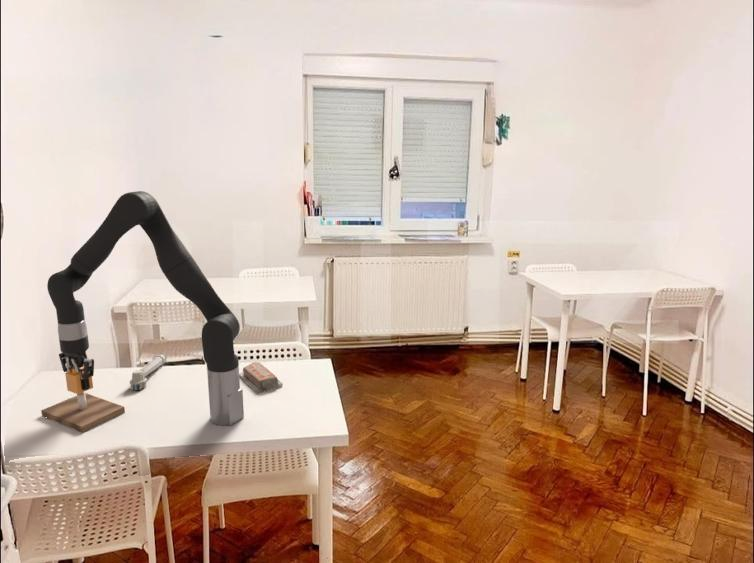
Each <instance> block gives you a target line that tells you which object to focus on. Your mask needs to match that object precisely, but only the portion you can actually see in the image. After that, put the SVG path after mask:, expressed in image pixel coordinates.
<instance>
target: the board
mask: <svg viewBox="0 0 754 563" xmlns="http://www.w3.org/2000/svg"><path fill="white" fill-rule="evenodd" d="M85 396H86V403H87V409H85V410H79V405H78V398H77V395H75V396H72V397H70V398H67V399H65V400H63V401H60V402H58V403H55V404H53V405H51V406H49V407H46V408H44V409H41V417H43V416H44V417H43V418H45V417H47V418H46V419H48V420H50V421H53V422H55V423H57V422H58V424H60V425H63V426H65V427H67V428H70V429H72V430H75V431H77V432H79V433H85V432H89V430H92V429H94V428H95V427H98V426H100V425H102V424H104V423H106V422H108V421H110V420H112V419H115V418H118V417H119V416H121V415H123V414H125V413H126V412H125V411H126V410H125V406H123V405H121V404H118V403H114V402H112V401H109V400H106V399H103V398H101V397H98V396H95V395H92V394H89V393H86V392H85Z"/></svg>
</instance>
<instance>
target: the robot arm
mask: <svg viewBox="0 0 754 563" xmlns="http://www.w3.org/2000/svg"><path fill="white" fill-rule="evenodd" d="M136 226H140V227H141V229H142V230H143V231H144V233H145V234H146V235H147V236H148V238H149V239H150V241H151V243H152V246H153V248H154V249H153V250H154V252H155V256H156V259H157V262H158V266H159V268H160V269H161V272H162V274H164V276H165V277H166V279H167V281H168V282H169V283H170V284H171V286H172V287H173V288H174V289H175V291H176V292H178V293H179V294H180V295H182V296H183V297H185V298H186V299H188V300H189V301H190V302H192V303H193V305H195V306H196V308H198V309H199V311H200V312H201V313H202V315H203V317H204V318H205V320H206V321H207V322H205V323H204V325H203V327H202V328H201V344H202V345H201V346H202V354H203V359H204V362H205V363H206V373H207V387H208V402H209V412H210V413H209V414H210V415H209V416H210V422H211V423H212V424H214V425H218V426H232V425H233V424H235V423H237V422H239V421H241V420H242V419H243V418H244V417H245V413H244V394H243V393H244V392H243V389H242V388H240V386H241V385H240V384H241V383H240V376H239V374H240V368H239V367H240V366H239V365H240V363H239V357H238V355H237V354H236V353H235V349H234V348H235V347H234V340H235V339H236V338H237V337H238V335H239V333H240V328H241V326H240V323H239V320H238V318H237V317H236V315H235V314H234V313H233V311H231V310H230V308H229V307H228V305H226V303H225V302H224V301H223V300H222V299H221V298H220V296H219V295H218V293H217V292H216V291H215V289H214V288H213V286H212V285H211V283H210V282H209V280H208V279H207V277H206V276H205V274H204V273H203V271H202V270H201V268H200V266H199V265H198V263H197V262H196V261H195V259H194V257H193V256H192V255H191V253H190V252H189V251H188V249H187V247H186V246H185V245H184V243H183V241H181V239H180V238H179V236H178V234H177V233H176V232H175V230H174V229H173V227H172V226H171V224H170V222H169V220H168V218H167V217H166V215H165V214H164V212H163V209H162V208H161V205H160V204H159V202H158V201H157V199H156V198H155V196H153V195H152V194H151V193H149V192H146V191H142V190H140V191H129V192H126V193H124V194H122V195H121V196H120V197H118V199H117V200H116V201H115V203H114V205H113V206H112V208H111V209H110V211H109V212H108V214H107V216H106V217H105V219H104V220H103V222H102V223H101V224H100V225H99V227H98V228H97V229H96V230H95V232H94V233H93V234H92V235H91V237H89V239H87V241H86V242H85V243H84V244H82V246H81V247H80V248H79V249H78V250H77V251H76V252H75V253H74V254H73V255H72V257H71V258H70V264H69V265H68V266H67V267H66V268H65V269H62V270H60V271H58V272H55V273H53V274H51V275H50V276H49V277H48V280H47V284H46V285H47V287H46V288H47V293H48V295H49V297H50V299H51V301H52V304H53V307H54V309H55V310H56V311H55V312H56V318H57V335H58V342H59V348H60V353H59V354H58V357H59V361H60V364H61V368H62V371H63V373H67V372H70V371H72V368H73V367H75V370H76V372H77V373H79V375H80V380H81V387H82V390H87V389H89V388H90V384H89V377H92V378H93V377H94V374H95V373H94V372H95V359H93V358H91V359H89V358H88V355H87V352H86V351H88V349H89V348H90V343H89V336H88V327H87V323H86V320H85V318H86V317H85V310H84V305H83V303H82V302H81V301H80V300H77V299H76V298H75V294H74V293H75V292H77V291H79V290H81V289H82V288H83V287H84V286H85V285H86V283H87V282H88V281H89V280H90V278H91V277H92V275H93V273H94V272H96V270H97V269H98V268H100V267H101V265H102V264H104V262H105V261H106V260H107V259H108V258H109V256H110V255H111V253H112V251H113V250H114V248H115V246H116V244H117V243H118V242H119V240H120V239H122V237H123V236H124V235H125V234H127V233H128V232H129V231H130V230H132V229H133V228H135V227H136ZM81 367H84V368H82V369H79V368H81ZM82 371H84V375H83V373H82ZM89 371H90V373H89ZM89 390H90V389H89ZM87 391H88V390H87Z"/></svg>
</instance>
